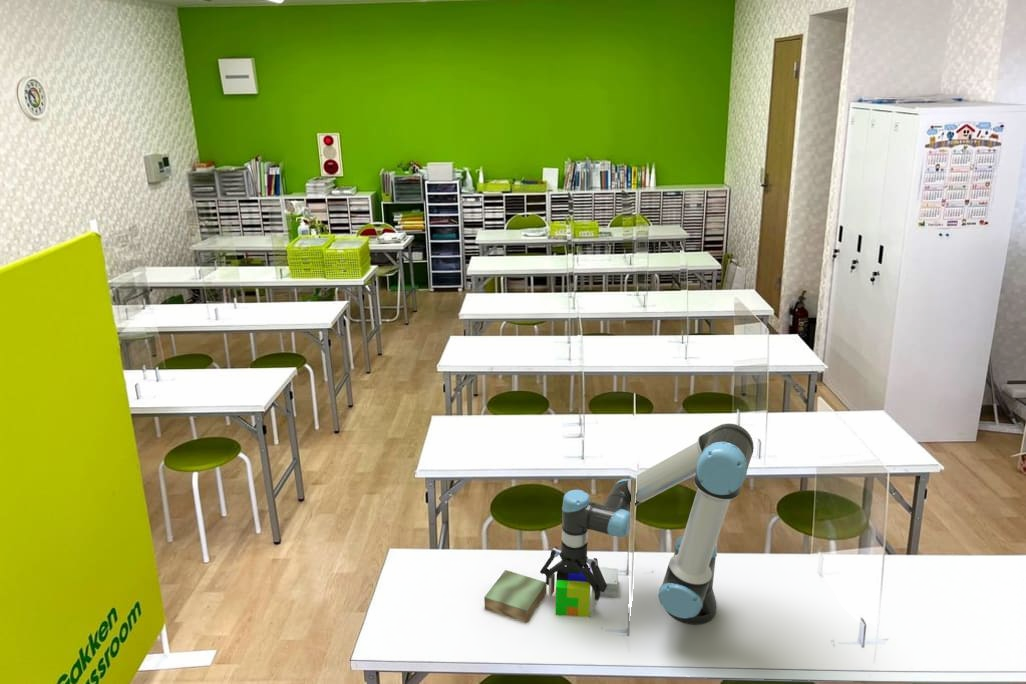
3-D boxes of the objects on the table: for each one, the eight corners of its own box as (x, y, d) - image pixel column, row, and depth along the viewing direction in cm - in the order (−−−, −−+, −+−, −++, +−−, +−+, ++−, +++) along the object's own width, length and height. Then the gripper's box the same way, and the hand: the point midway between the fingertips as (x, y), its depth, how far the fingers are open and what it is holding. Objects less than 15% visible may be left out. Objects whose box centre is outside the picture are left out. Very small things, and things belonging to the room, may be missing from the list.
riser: (546, 593, 234) (546, 582, 233) (527, 622, 222) (527, 610, 221) (505, 581, 240) (505, 569, 238) (484, 608, 228) (484, 597, 227)
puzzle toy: (589, 594, 234) (590, 567, 230) (589, 617, 225) (590, 589, 221) (556, 592, 235) (557, 565, 231) (555, 615, 226) (555, 587, 222)
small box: (617, 581, 240) (618, 567, 238) (617, 598, 233) (618, 584, 231) (592, 579, 241) (593, 565, 239) (591, 595, 234) (592, 582, 232)
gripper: (619, 545, 220) (616, 604, 227) (540, 523, 230) (539, 581, 237) (611, 559, 213) (607, 620, 221) (529, 536, 224) (529, 595, 231)
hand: (572, 600), depth 229 cm, fingers open, 13 cm apart
